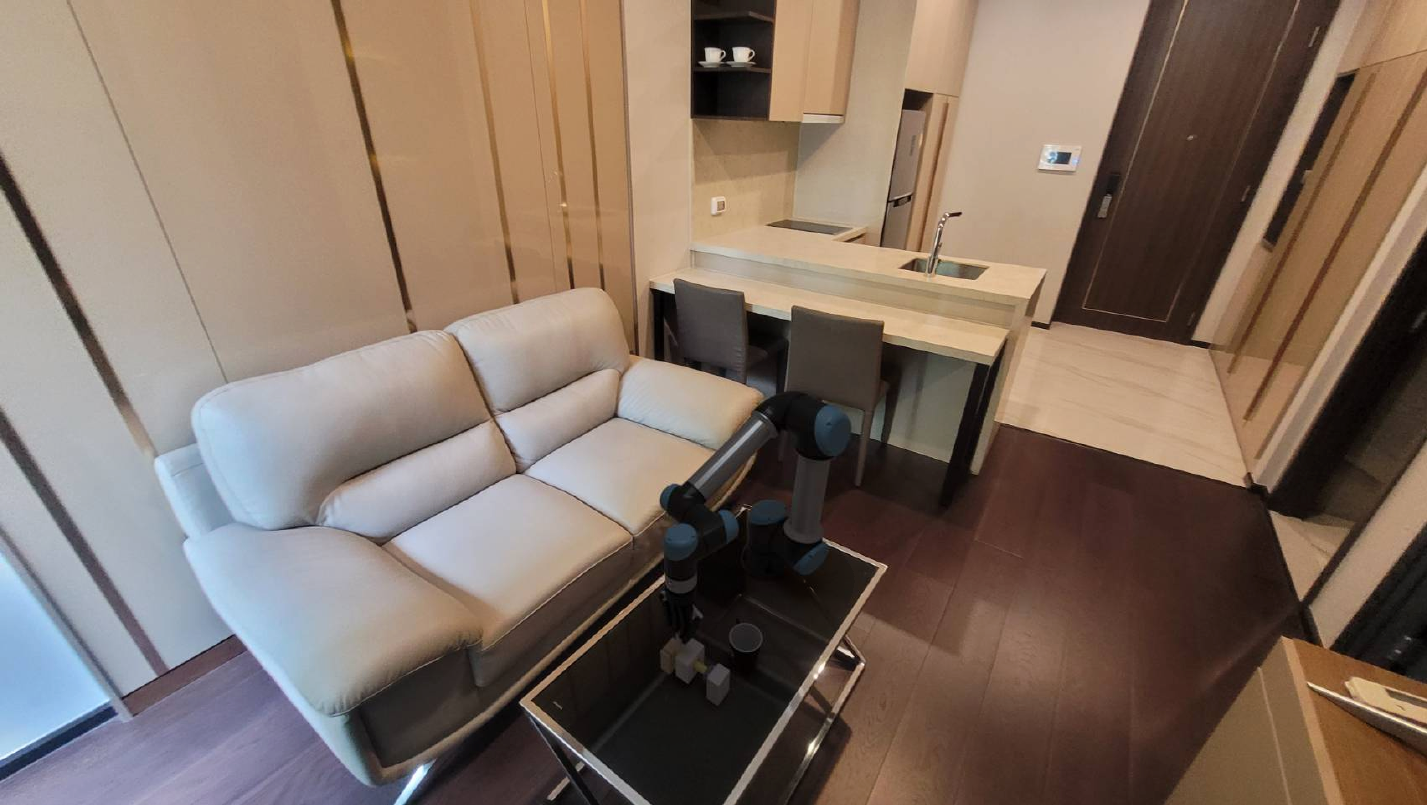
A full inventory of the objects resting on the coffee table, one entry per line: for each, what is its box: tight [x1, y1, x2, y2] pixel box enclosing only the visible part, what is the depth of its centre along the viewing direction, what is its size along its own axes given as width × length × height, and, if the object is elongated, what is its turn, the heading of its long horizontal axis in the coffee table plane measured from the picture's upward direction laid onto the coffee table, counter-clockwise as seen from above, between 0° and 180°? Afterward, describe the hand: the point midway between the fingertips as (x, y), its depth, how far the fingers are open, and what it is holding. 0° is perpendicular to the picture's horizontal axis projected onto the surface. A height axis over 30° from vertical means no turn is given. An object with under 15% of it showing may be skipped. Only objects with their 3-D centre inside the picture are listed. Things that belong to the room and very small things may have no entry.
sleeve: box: [675, 637, 706, 684], centre depth 134 cm, size 4×7×7 cm, turn 145°
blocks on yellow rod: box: [659, 635, 731, 707], centre depth 134 cm, size 18×6×8 cm, turn 55°
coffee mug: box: [728, 617, 763, 674], centre depth 139 cm, size 12×9×10 cm
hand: (681, 648), depth 134 cm, fingers closed
